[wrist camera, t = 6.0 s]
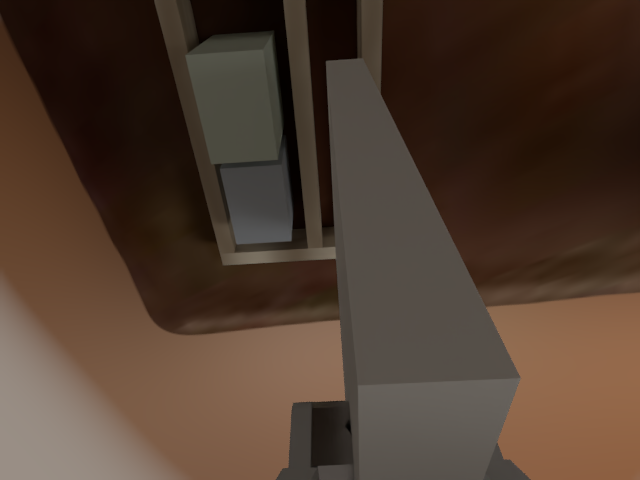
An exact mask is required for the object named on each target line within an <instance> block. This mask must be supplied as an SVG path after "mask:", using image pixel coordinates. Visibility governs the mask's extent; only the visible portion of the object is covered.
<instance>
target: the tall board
mask: <svg viewBox="0 0 640 480" xmlns="http://www.w3.org/2000/svg"><path fill="white" fill-rule="evenodd" d="M326 75H327V95H328V114H329V133H330V153H331V172H332V192H333V211H334V230H335V250H336V266H337V281H338V296H339V311H340V325H341V340H342V355H343V370H344V383H345V398H346V399H345V400H346V401H349V407H350V424H351V435H352V447H353V460H354V480H483V479H484V476H485V473H486V471H487V468H488V465H489V462H490V460H491V457H492V454H493V452H494V449H495V446H496V443H497V441H498V438H499V435H500V433H501V430H502V427H503V424H504V422H505V419H506V416H507V413H508V411H509V408H510V405H511V403H512V400H513V397H514V395H515V392H516V389H517V386H518V384H519V381H520V376H519V374H518V372H517V370H516V368H515V366H514V364H513V362H512V360H511V358H510V356H509V354H508V352H507V350H506V347H505V346H504V343H503V341H502V339H501V338H500V335H499V333H498V331H497V329H496V327H495V325H494V323H493V321H492V319H491V317H490V315H489V313H488V311H487V309H486V307H485V305H484V303H483V301H482V299H481V297H480V295H479V293H478V291H477V289H476V287H475V285H474V283H473V281H472V279H471V276H470V274H469V272H468V270H467V268H466V266H465V264H464V262H463V260H462V258H461V256H460V254H459V252H458V250H457V248H456V246H455V244H454V242H453V240H452V238H451V236H450V234H449V232H448V230H447V228H446V226H445V224H444V222H443V220H442V218H441V216H440V214H439V212H438V210H437V208H436V206H435V204H434V201H433V199H432V197H431V195H430V193H429V191H428V189H427V187H426V185H425V183H424V181H423V179H422V177H421V175H420V173H419V171H418V169H417V167H416V165H415V163H414V161H413V159H412V157H411V155H410V153H409V151H408V149H407V147H406V145H405V143H404V141H403V139H402V137H401V135H400V133H399V131H398V129H397V126H396V124H395V122H394V120H393V118H392V116H391V114H390V112H389V110H388V108H387V106H386V104H385V102H384V100H383V98H382V96H381V94H380V92H379V90H378V88H377V86H376V84H375V82H374V80H373V78H372V76H371V74H370V72H369V70H368V68H367V66H366V64H365V62H364V60H363V58H360V59H346V60H332V61H326Z"/></svg>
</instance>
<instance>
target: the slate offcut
mask: <svg viewBox="0 0 640 480" xmlns="http://www.w3.org/2000/svg"><path fill="white" fill-rule="evenodd" d="M220 173H221V177H222V181H223V186H224V190H225V195H226V199H227V204H228V208H229V212H230V217H231V221H232V226H233V230H234V235H235V239H236V244H252V243H269V242H285V241H291V238H292V225H293V211H294V199H293V191H292V182H291V173H290V164H289V156H288V147H287V138H286V135H282V139H281V145H280V150H279V156H278V160H269V161H253V162H238V163H223V164H222V165H221V167H220Z"/></svg>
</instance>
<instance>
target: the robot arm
mask: <svg viewBox="0 0 640 480" xmlns="http://www.w3.org/2000/svg"><path fill="white" fill-rule="evenodd" d="M276 480H354V460H353V447H352V435H351V424H350V407H349V401H330V402H329V401H328V402H299V403H293V406H292V414H291V433H290V450H289V468H284V469H282V471H281V472H280V474H279V476H278V477H277V479H276ZM483 480H530V479H529V478H528V477H527V476H526V475H525V474H524V473H523V472H522V471H521V470H520V469H519V468H518V467H517V466H516V465H515V464H514V463H513V462H512V461H511V460H504V459H503V456H502V454H501V452H500V449H499V446H498V443H496V446H495V449H494V452H493V454H492V457H491V460H490V462H489V465H488V468H487V471H486V473H485V476H484V479H483Z"/></svg>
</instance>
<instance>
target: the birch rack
mask: <svg viewBox="0 0 640 480" xmlns="http://www.w3.org/2000/svg"><path fill="white" fill-rule="evenodd" d="M154 2H155V6H156V10H157V13H158V17H159V21H160V25H161V29H162V33H163V36H164V40H165V44H166V48H167V52H168V56H169V59H170V63H171V67H172V71H173V75H174V79H175V83H176V86H177V90H178V94H179V98H180V102H181V106H182V109H183V113H184V117H185V121H186V125H187V129H188V132H189V136H190V140H191V144H192V148H193V152H194V155H195V159H196V163H197V167H198V171H199V175H200V178H201V182H202V186H203V190H204V194H205V198H206V201H207V205H208V209H209V213H210V217H211V221H212V224H213V228H214V232H215V236H216V240H217V244H218V248H219V251H220V255H221V259H222V263H223V265H238V264H254V263H271V262H288V261H304V260H321V259H336V250H335V230H334V227H322V221H321V207H320V193H319V179H318V165H317V151H316V137H315V124H314V110H313V96H312V82H311V68H310V54H309V40H308V26H307V12H306V0H283V3H284V13H285V23H286V33H287V43H288V53H289V63H290V73H291V83H292V93H293V103H294V113H295V123H296V133H297V143H298V153H299V163H300V173H301V183H302V193H303V203H304V213H305V223H306V229H292V238H291V241H285V242H269V243H252V244H236V239H235V235H234V230H233V226H232V221H231V217H230V212H229V208H228V204H227V199H226V195H225V190H224V186H223V181H222V177H221V173H220V167H221V165H222V164H211V162H210V157H209V153H208V149H207V145H206V141H205V136H204V132H203V128H202V124H201V120H200V115H199V111H198V107H197V103H196V99H195V95H194V90H193V86H192V82H191V78H190V74H189V69H188V65H187V61H186V57H185V55H186V54H187V53H189V52H190V51H192V50H193V49H194V48H196V47H197V46H199V45H200V44H199V39H198V34H197V30H196V25H195V21H194V16H193V11H192V7H191V2H190V0H154ZM382 14H383V0H357V59H360V58H363V60H364V62H365V64H366V66H367V68H368V70H369V72H370V74H371V76H372V78H373V80H374V82H375V84H376V86H377V88H378V90H379V92H380V94H381V56H382Z"/></svg>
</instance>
